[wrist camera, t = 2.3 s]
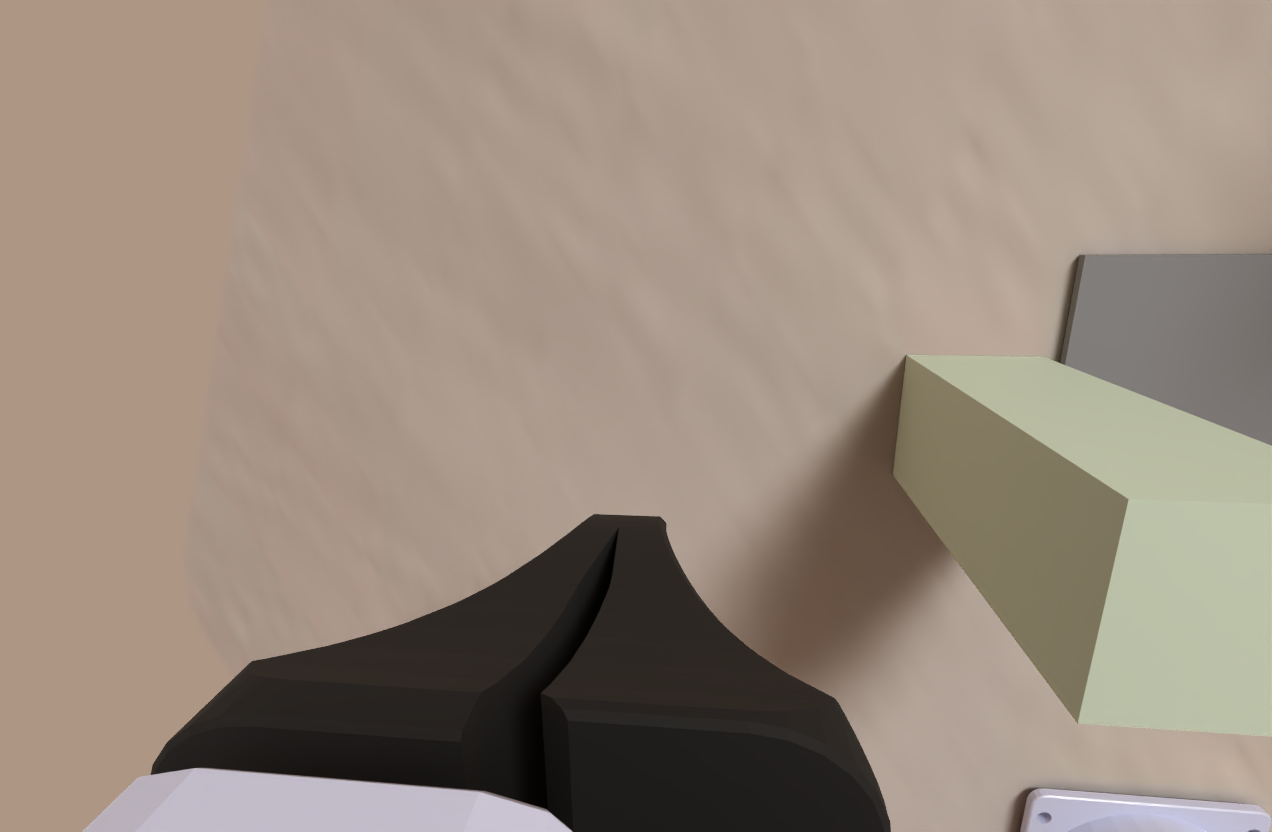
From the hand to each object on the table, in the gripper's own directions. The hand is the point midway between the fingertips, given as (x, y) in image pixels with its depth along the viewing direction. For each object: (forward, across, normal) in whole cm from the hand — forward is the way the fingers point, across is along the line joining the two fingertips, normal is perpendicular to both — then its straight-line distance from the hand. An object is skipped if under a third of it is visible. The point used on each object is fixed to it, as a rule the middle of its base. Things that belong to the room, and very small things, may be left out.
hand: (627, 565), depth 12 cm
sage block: (+10, -10, 0) cm, 14 cm away
